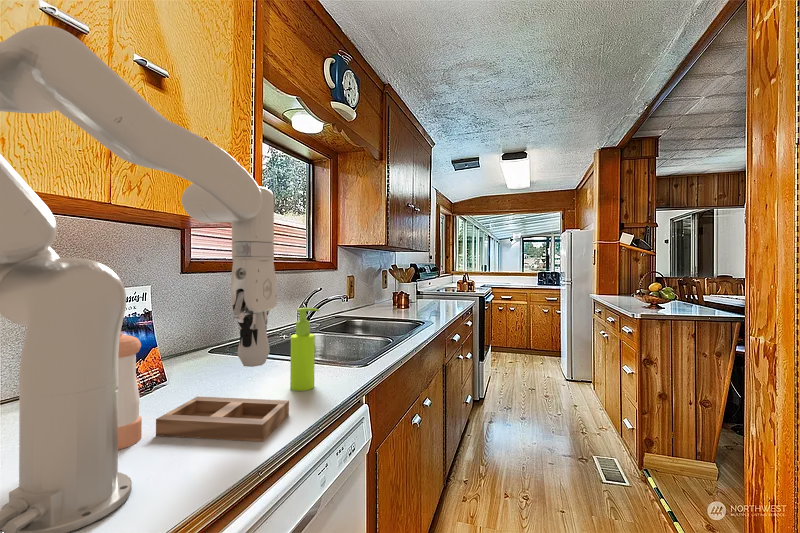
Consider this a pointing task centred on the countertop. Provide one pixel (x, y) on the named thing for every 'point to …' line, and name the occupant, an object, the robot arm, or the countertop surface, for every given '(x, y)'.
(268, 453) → the countertop surface
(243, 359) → the salt shaker
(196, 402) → the caddy
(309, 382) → the soap dispenser
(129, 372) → the pepper shaker
